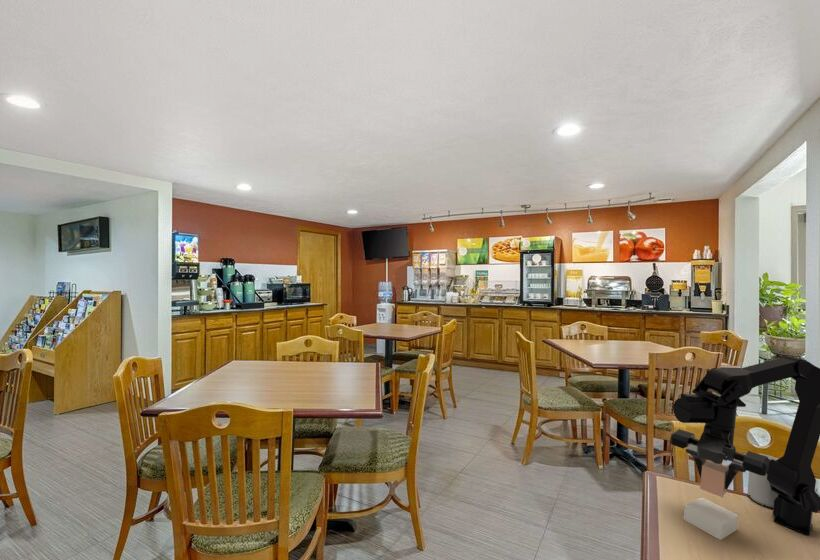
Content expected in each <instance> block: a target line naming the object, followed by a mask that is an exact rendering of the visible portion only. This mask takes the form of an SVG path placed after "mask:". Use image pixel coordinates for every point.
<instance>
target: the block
mask: <svg viewBox="0 0 820 560" xmlns="http://www.w3.org/2000/svg"><path fill="white" fill-rule="evenodd" d="M728 470H729V466H728V465H723V464H722V463H721V464H716V463H714V462H712V461H710V460H707V459H706V460H705V463H704V464H703V465H702V473H701V479H700V484H699V489H700V490H702V491H705V492H707V493H710V494H713V495H715V496H718V497H719V498H720V497H721V498H724V496H725V495H726V494H727V492H728V489H729V488H728V489H725V482H726V478H727V474H728Z"/></svg>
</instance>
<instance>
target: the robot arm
mask: <svg viewBox="0 0 820 560" xmlns="http://www.w3.org/2000/svg"><path fill="white" fill-rule="evenodd" d="M789 378H790V379H793V380H794V381H795V382H794V391H795V394H796V396H797V398H798V401H799V402H798V407H797V410H796V413H795V416H794V420H793V423H792V425H791V426H792V427H791V429H790V433H789V437H788V440H787V442H786V446H785V450H784V453H783V455H782V456H781V457H779V458H777V460H773V459H771V460H769V459H768V457H766V456H763V455H760V454H761V453H758V452H753V451H750V450H747V453H745V454H744V453H741V452H738V451H737V449H736V446H735V445H734V438H735V428H736V419H737V410H738V408H746V405H747V404H746V403H745V402H744V401H742V400H741V398H742V397H744V396H746V395H749V394H750V393H751V391H752V389H754V388H756V387H759V386H764V385H767V384H771V383H775V382H779V381H782V380H786V379H789ZM699 381H700V382H699V383H697V385H696V386H695V387H694V388H693V390H692V391H691V393H690V394H689V393H681V394H680V397H678V398H677V399H676V400H675V401H674V403H673V404H672V410H673V415H674V416H675V418H676V420H677V421H679V423H682V424H704V426H703V432H702V433H701V435H700V437H699V439H697V438H696V435H695V433H693V432H690V431H687V430H684V429H682V428H681V429H680V428H679V429H677V430H676V431H674V432H672V433H671V434H670V438H669V444H670V445H671V446H674V447H678V448H680V449H685V448H686V449H685V453H687V454H689V455H690V456H691V457H692V458H693V460H694V462H695V466H696V469H697V472H698V476H699V478H700V480H701V473H702V465H703V464H704V463H705V462H706V461H707V460H710V461H712V462H714V463H716V464H721V465H722V464H723V462H724V461H726V462H727V461H729V462H730V464H729V465H728V467H729V470H728V474H727V478H726V482H725V489H729V487H730V485H731V483H732V482H733V480H734V479H735V476H737V474H738V473H739V472H741V473H746V471H747V472H748V473H749V472H752V473H755V474H758V475H761V476H765V475H766V474H767V480H768V481H769V484H770V488H771V490H772V491H774V492H776V493H777V494H779V495H778V497H776V498H775V500H774V507H772V516H773V517H774V518H773V522H775V523H776V524H779V525H782V526H784V527H786V528H789V529H792V530H794V531H796V532H799V533H802V534H803V535H806V536H810V534H811V531H812V528H813V513H815V514H817V513H819V512H820V495H819V494H818V493H817V492H816V483H817V479H816V477H815V474H814V471H813V468H812V463H813V460H814V456H815V454H816V449H817V446H818V444H819V443H818V442H819V439H820V367H819V366H815V364H813V363H812V362H810V361H807V360H806V359H804V358H801V357H800V358H799V357H796V356H793V355H789V354H788V355H783V356H780V357H779V358H776V359H772V360H771V359H770V360H767V361H764V362H759V363H757V364H752V365H748V366H744V367H741V368H734V367H732V368H731V367H721V368H719V367H718V368H711V369H709V370H708V371H706V374H705V375H704V376H703V378H702V379H701V380H699ZM719 395H720V396H719Z"/></svg>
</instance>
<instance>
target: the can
mask: <svg viewBox="0 0 820 560" xmlns="http://www.w3.org/2000/svg"><path fill="white" fill-rule="evenodd" d="M759 454H760V455H763V456H766V457H768V459H769V460H771V459H773V460H777V459H778V458H777V457H774V456H771V455H768V454H764V453H759ZM747 494H748V496H749V495H751V496H749V497H750V498H751V499H752V501H754V502H756V503H758V504H760V505H762V506H764V505H765V507H768V508H773V507H774V500H775V498H776V497H778V495H779V494H777V493H776V492H774V491H772V490H771V488H770V484H769V481H768V480H767V474H766V475H765V476H761V475H758V474H755V473H752V472H749V471H748V483H747ZM765 498H766V499H765ZM767 499H769V500H767Z"/></svg>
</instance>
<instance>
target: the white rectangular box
mask: <svg viewBox="0 0 820 560" xmlns="http://www.w3.org/2000/svg"><path fill="white" fill-rule="evenodd" d="M683 521H686V522H688V523H689V524H690V525H693V526H694V527H696V528H697V529H700V530H702V531H703V532H705V533H707V534H709V535H711V536H713V537H714V538H716V539H718V540H719V541H721V540H723V539H725V538H726V537H728V536H729V535H731V534H733V533H735V532H736V531H737V530H738V522H739V515H738V514H736V513H734V512H732V511H731V510H729V509H726V508H724V507H722V506H720V505H718V504H716V503H714V502H713V501H710V500H708V499H706V498H704V497H700V498H697V499H695V500H692V501H691V502H688V503H686V504H684V513H683Z"/></svg>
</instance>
